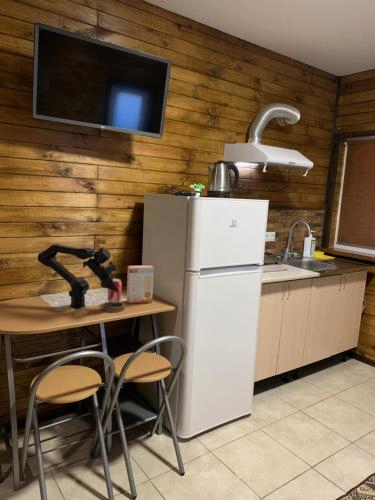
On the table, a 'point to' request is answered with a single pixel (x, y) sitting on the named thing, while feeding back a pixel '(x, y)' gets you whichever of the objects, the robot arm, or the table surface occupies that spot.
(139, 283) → the cracker box
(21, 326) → the table surface
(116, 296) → the soda can
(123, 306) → the ring
